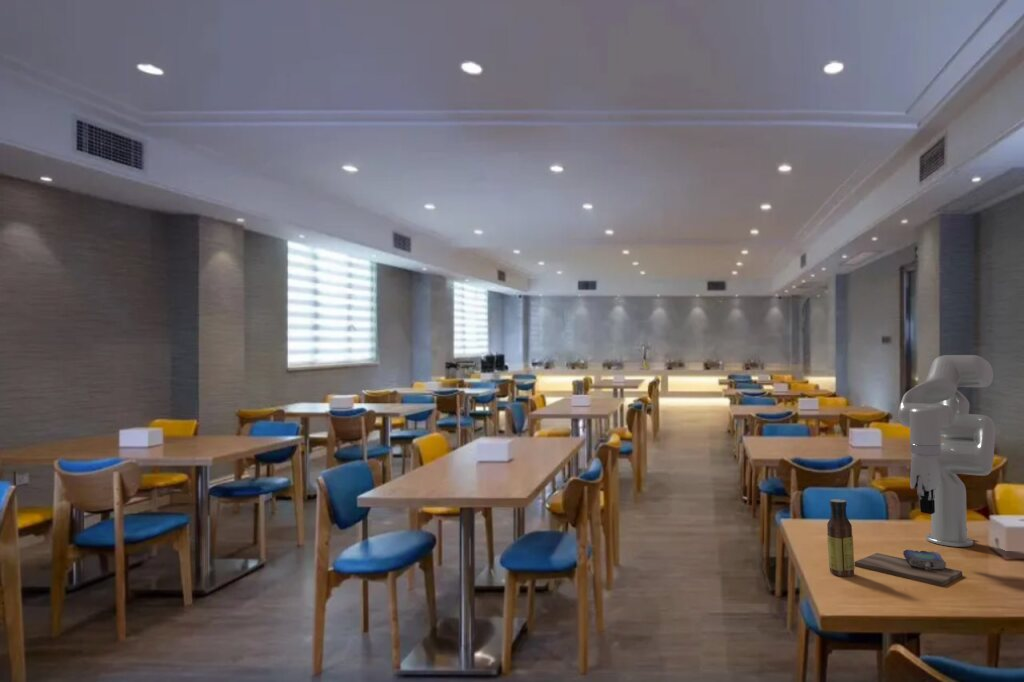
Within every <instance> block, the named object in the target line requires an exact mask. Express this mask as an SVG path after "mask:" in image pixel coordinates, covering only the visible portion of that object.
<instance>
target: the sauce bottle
mask: <svg viewBox="0 0 1024 682" xmlns="http://www.w3.org/2000/svg"><path fill="white" fill-rule="evenodd" d="M829 505H830V518H829V519H828V521H827V524H826V525H827V549H828V550H827V551H828V552H827V553H828V565H829V572H830V573H831V574H833V575H835V576H838V577H846V578H847V577H852V576H854V575H855V567H856V566H855V551H854V549H855V548H854V537H853V536H854V535H853V528H852V527H853V526H852V524H851V521H850V520H849V518H848V517H847V516H848V515H847V506H848V504H847V500H845V499H838V498H837V499H834V498H833V499H830V500H829Z"/></svg>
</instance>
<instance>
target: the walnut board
mask: <svg viewBox="0 0 1024 682" xmlns="http://www.w3.org/2000/svg"><path fill="white" fill-rule="evenodd" d="M854 567H858V568H861V569H864V570H865V569H866V570H871V571H874V572H879V573H883V574H886V575H887V574H888V575H892V576H896V577H899V578H904V579H908V580H912V581H913V580H914V581H917V582H921V583H925V584H929V585H934V586H938V587H944V586H946V585H948V584H949V583H951V582H953V581H955V580H957V579H959V578H961V577H962V576H963V571H962V570H959V569H958V570H957V569H954V568H949V567H945V568H944V569H931V570H926V569H922V568H918V567H914V566H911V565H909V564H908V562H907V560H906V558H902V557H899V556H898V557H897V556H893V555H889V554H883V553H879V552H876V553H873V554H870V555H868V556H866V557H863V558H861V559H858V560H854Z"/></svg>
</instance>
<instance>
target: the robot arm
mask: <svg viewBox="0 0 1024 682" xmlns="http://www.w3.org/2000/svg"><path fill="white" fill-rule="evenodd" d="M992 367H993V366H992V365H991V364H990V362H989V361H988V360H986V359H985V358H984V357H981V356H979V355H975V354H944V355H940V356H938V357H936V358H935V359H934V360H933V361H932V363H931V366H930V368H929V371H928V373H927V376H926V380H925V381H924V382H921V383H920V384H917V385H916V386H914V387H912V388H910V389H909V390H908V391H906V392H905V393H904V394H903V396H902V399H901V401H900V404H899V407H898V411H897V418H898V422H899V424H900V425H901V426H902V427H905V428H909V436H910V438H909V439H910V442H909V443H910V455H911V459H910V470H909V471H910V475H909V476H910V477H909V478H910V479H909V481H910V482H909V484H910V485H909V486H910V488H911V489H912V490H916V489H917V490H916V492H917V493H916V494H917V496H919V504H920V508H919V509H920V513H921V514H928V515H930V519H931V520H930V521H931V523H930V524H931V526H930V527H931V530H930V531H931V533H927V534H926V535H925V540H927V541H928V542H930V543H933V544H937V545H942V546H948V547H954V548H955V547H957V548H966V547H967V548H968V547H972V546H973V545H974V541H973V540H972V539H970V538H969V537H968V527H967V521H968V520H967V489H966V485H965V483H964V482H963V481H962V480H961V478H960V477H959V475H971V476H982V477H983V476H988V475H989V474H991V472H992V470H993V467H994V455H995V446H996V445H995V443H996V425H995V423H994V420H993V419H992V418H991V417H990V416H987V415H985V414H975V413H974V414H972V413H969V412H970V402H969V400H968V398H966V396H965V395H964V394H963V393H962V392H960V391H959V390H958V388H960V387H961V388H988V387H989V386H990V385H991V384H992V383H993V380H994V370H993V368H992Z"/></svg>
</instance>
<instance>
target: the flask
mask: <svg viewBox="0 0 1024 682" xmlns="http://www.w3.org/2000/svg"><path fill="white" fill-rule="evenodd" d="M903 557H904V559H906V560H907V562H908V564H909V565H911V566H914V567H918V568H922V569H926V570H931V569H944V568H947V562H946V561H945V560H944V558H943V557H942V556H941V554H940V553H939V552H935V551H927V550H926V551H925V550H919V551H918V550H913V549H905V550H904V551H903Z"/></svg>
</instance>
